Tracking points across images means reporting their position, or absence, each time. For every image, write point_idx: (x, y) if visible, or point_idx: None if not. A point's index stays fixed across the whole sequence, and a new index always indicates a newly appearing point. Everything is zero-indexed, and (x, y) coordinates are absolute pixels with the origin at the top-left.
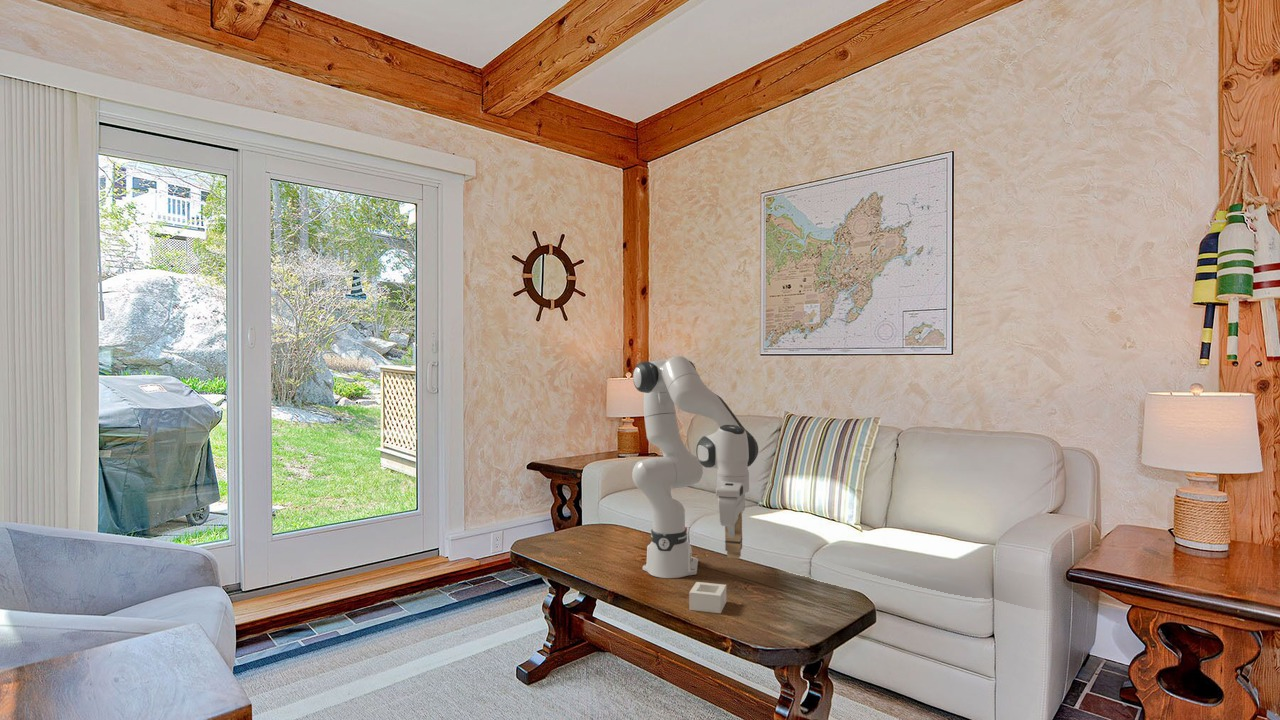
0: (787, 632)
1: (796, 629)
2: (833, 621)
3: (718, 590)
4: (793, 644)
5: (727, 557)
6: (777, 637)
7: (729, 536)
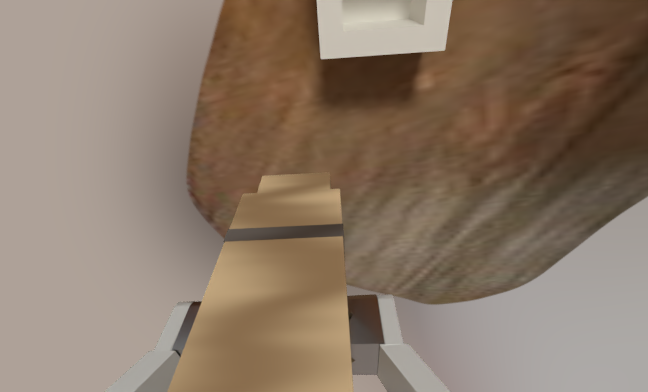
0: None
1: None
2: (362, 273)
3: (372, 36)
4: None
5: (262, 178)
6: None
7: (178, 311)
